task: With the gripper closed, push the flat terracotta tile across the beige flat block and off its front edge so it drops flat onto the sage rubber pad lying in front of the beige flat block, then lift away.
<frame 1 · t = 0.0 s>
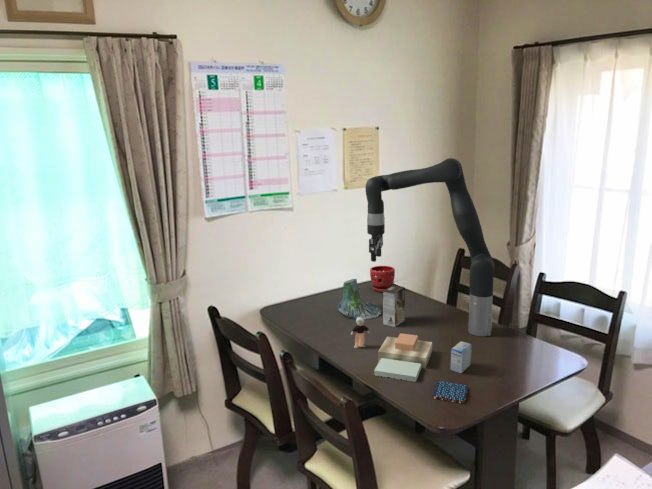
hand: (376, 258, 219), 29 cm above the table, fingers open, 8 cm apart
tree stump: (358, 313, 236), on the table
mat: (397, 372, 179), on the table
medicine box: (460, 368, 181), on the table
tile: (406, 345, 191), point 4 cm above the table, touching beige flat block
grandmother figurine: (360, 347, 200), on the table
plant pot: (382, 289, 267), on the table
beige flat block: (405, 356, 191), on the table
woven mat: (451, 395, 164), on the table
coffee box: (394, 322, 223), on the table
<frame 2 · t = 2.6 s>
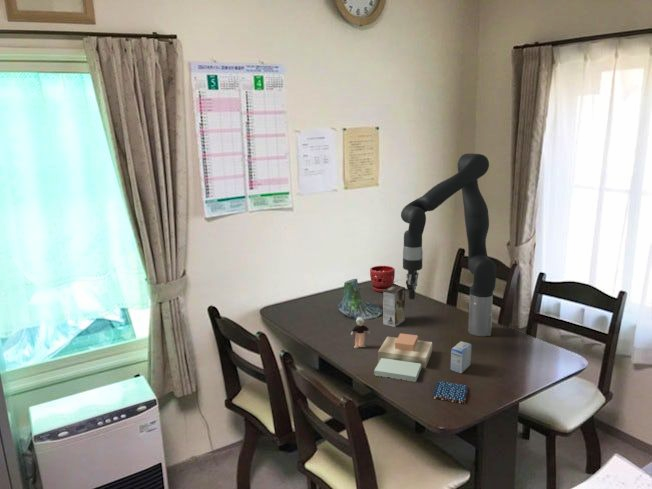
hand: (412, 298, 197), 19 cm above the table, fingers closed
nothing on the table moved.
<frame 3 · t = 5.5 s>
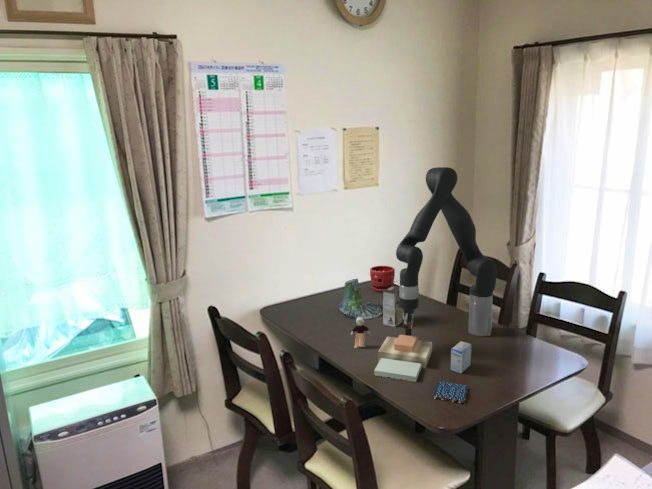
hand: (408, 336, 195), 5 cm above the table, fingers closed
tile: (405, 346, 190), point 4 cm above the table, touching gripper
everything else where it was.
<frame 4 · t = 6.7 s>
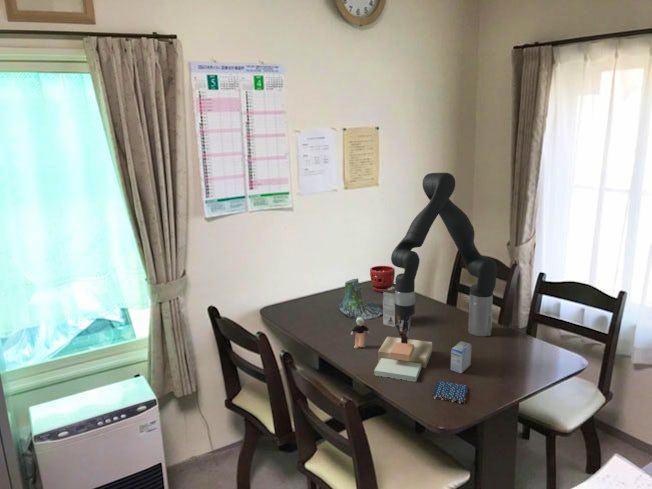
hand: (404, 344, 189), 5 cm above the table, fingers closed
tile: (402, 354, 184), point 4 cm above the table
everything else where it was.
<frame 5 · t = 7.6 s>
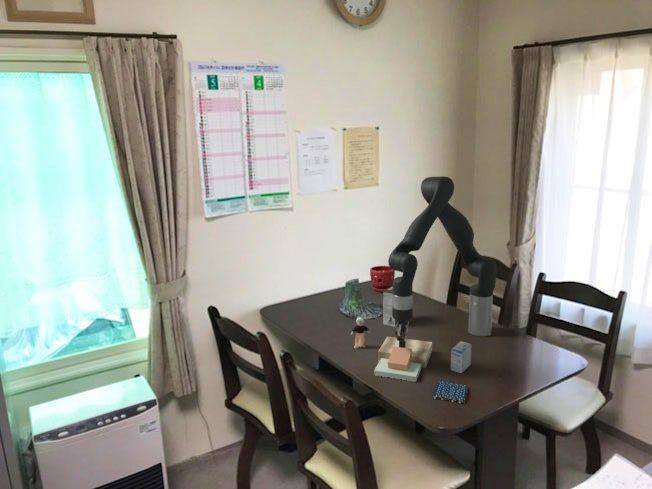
hand: (402, 348, 185), 5 cm above the table, fingers closed
tile: (400, 360, 181), point 3 cm above the table, tilted 15°, touching beige flat block, gripper, mat
everything else where it was.
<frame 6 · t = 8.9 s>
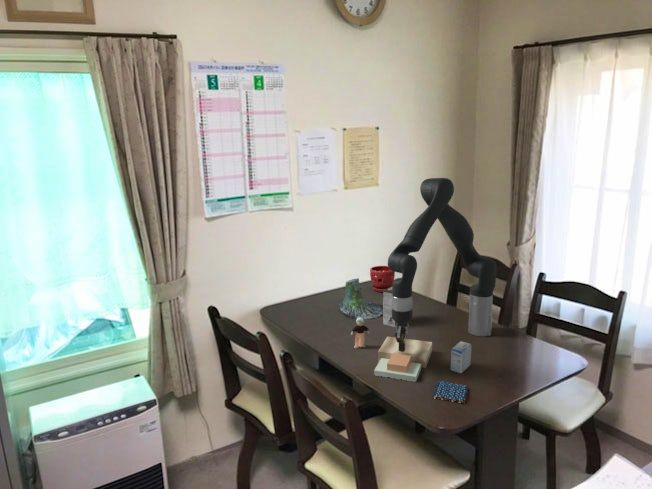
hand: (402, 350, 184), 5 cm above the table, fingers closed
tile: (399, 365, 180), point 2 cm above the table, touching mat
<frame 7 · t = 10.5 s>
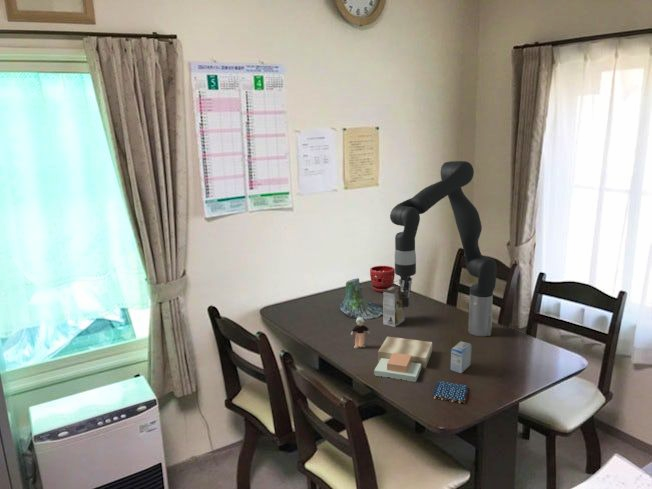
hand: (405, 306, 182), 22 cm above the table, fingers closed
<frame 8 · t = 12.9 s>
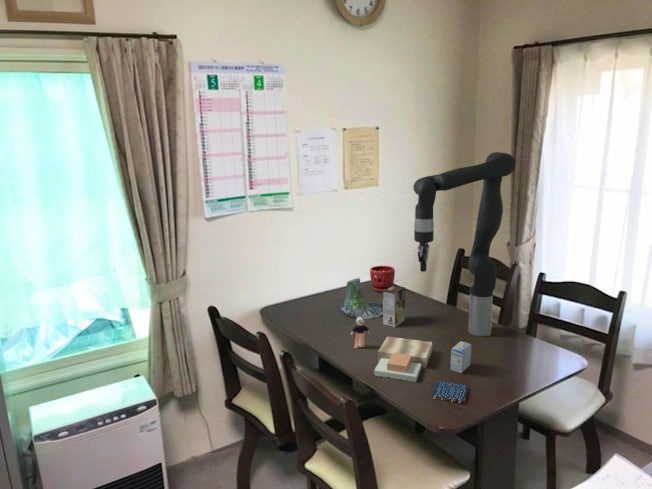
hand: (423, 271, 200), 29 cm above the table, fingers closed
at the end: tile inside the target area (1.5 cm from its centre), point 2.0 cm above the table; tile touching mat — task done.
